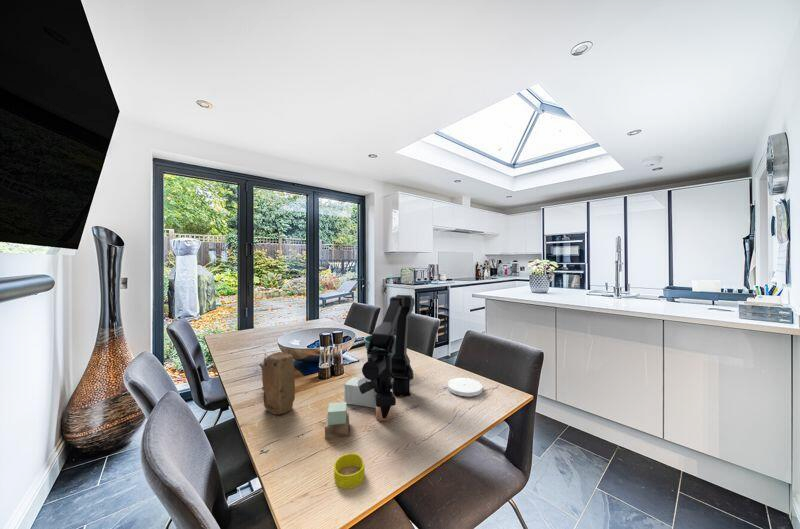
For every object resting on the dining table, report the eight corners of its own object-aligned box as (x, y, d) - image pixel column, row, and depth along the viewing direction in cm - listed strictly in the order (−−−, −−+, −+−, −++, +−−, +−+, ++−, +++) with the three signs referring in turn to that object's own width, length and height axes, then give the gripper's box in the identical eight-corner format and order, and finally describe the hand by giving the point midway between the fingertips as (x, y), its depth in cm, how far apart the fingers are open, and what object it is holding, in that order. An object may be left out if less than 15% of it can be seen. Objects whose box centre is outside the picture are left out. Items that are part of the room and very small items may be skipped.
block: (297, 408, 105) (296, 353, 105) (279, 418, 99) (278, 360, 98) (277, 401, 111) (276, 349, 110) (259, 410, 104) (258, 355, 104)
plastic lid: (458, 401, 110) (458, 395, 110) (441, 386, 123) (441, 380, 123) (489, 395, 114) (489, 389, 114) (470, 381, 128) (470, 375, 128)
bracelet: (337, 493, 67) (337, 479, 67) (331, 470, 74) (331, 458, 74) (368, 483, 70) (367, 470, 70) (359, 462, 77) (358, 450, 77)
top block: (346, 413, 94) (346, 401, 94) (346, 423, 89) (346, 410, 89) (329, 415, 93) (329, 403, 93) (327, 425, 88) (327, 412, 88)
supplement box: (344, 403, 108) (374, 408, 104) (344, 383, 108) (374, 388, 104) (353, 395, 115) (382, 399, 111) (353, 376, 115) (382, 380, 111)
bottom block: (349, 424, 95) (348, 412, 95) (348, 437, 88) (348, 424, 88) (327, 426, 94) (327, 414, 94) (324, 439, 87) (324, 426, 87)
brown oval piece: (389, 412, 101) (389, 399, 101) (391, 420, 96) (391, 406, 96) (375, 413, 101) (375, 400, 101) (376, 421, 96) (376, 408, 96)
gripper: (358, 360, 106) (359, 402, 106) (359, 381, 88) (360, 432, 88) (388, 358, 108) (389, 399, 108) (395, 379, 89) (396, 428, 90)
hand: (383, 413), depth 99 cm, fingers closed on brown oval piece, 5 cm apart
